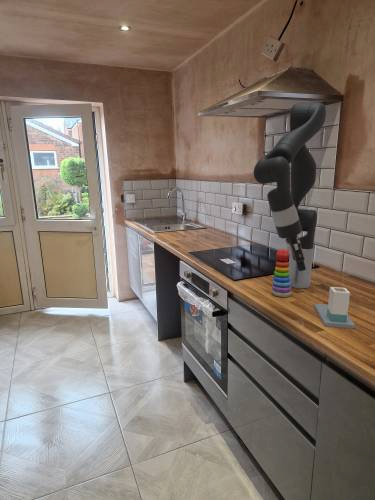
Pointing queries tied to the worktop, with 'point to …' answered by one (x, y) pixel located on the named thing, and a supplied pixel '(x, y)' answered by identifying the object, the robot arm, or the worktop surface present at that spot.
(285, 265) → the stacking toy
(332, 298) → the sleeve
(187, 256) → the worktop surface
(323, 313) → the pin board
